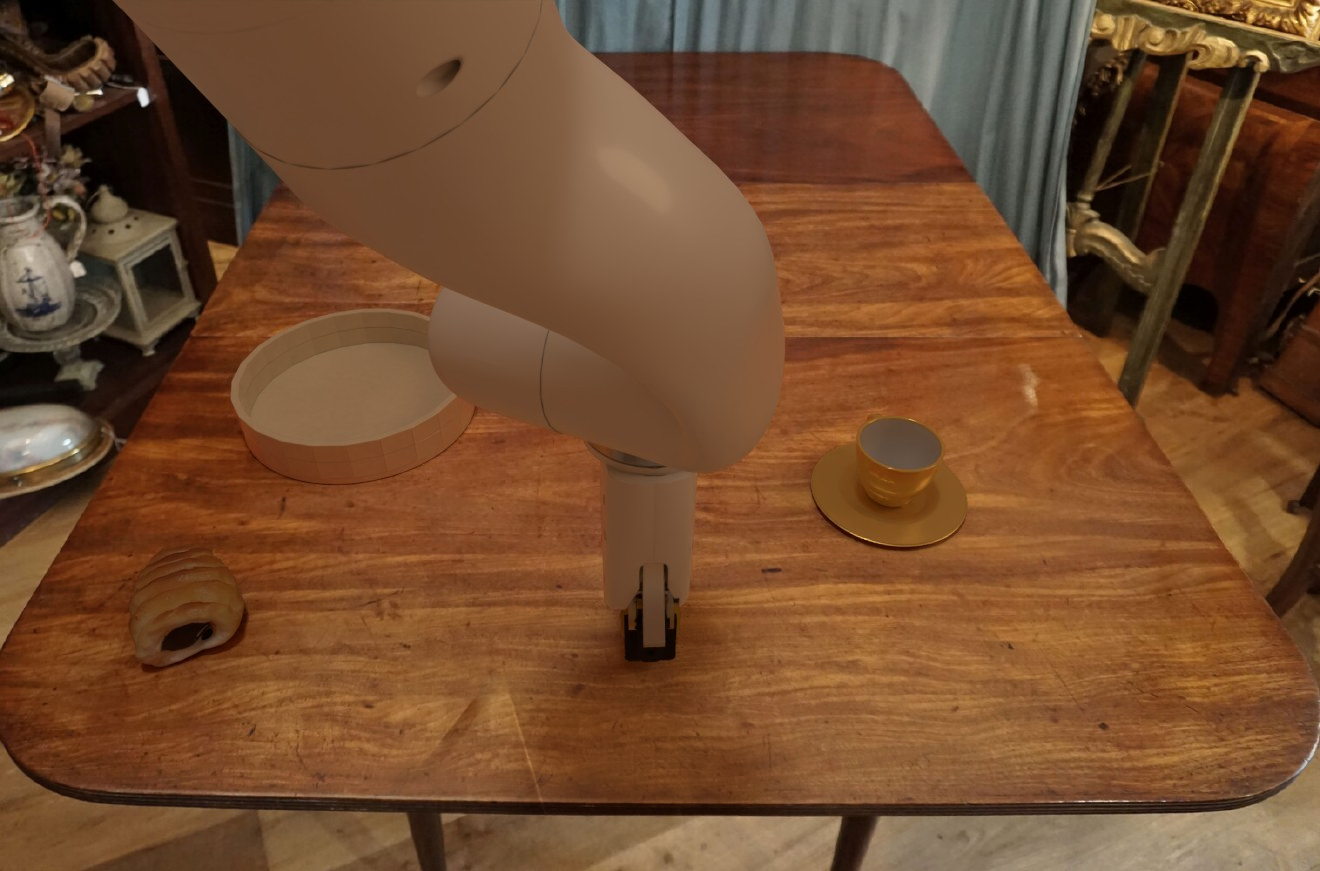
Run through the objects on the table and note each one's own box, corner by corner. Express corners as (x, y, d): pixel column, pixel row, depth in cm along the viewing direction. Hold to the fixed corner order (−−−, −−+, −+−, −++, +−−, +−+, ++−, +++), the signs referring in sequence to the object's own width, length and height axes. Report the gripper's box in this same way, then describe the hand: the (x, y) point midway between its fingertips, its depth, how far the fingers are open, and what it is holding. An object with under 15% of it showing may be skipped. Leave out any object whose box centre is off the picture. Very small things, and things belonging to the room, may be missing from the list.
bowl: (375, 515, 70) (366, 476, 68) (192, 437, 77) (177, 398, 74) (519, 381, 83) (515, 344, 81) (352, 324, 90) (344, 288, 87)
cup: (994, 538, 69) (1013, 484, 66) (842, 561, 67) (853, 507, 64) (926, 436, 78) (939, 384, 75) (790, 454, 76) (797, 401, 73)
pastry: (130, 578, 65) (111, 540, 63) (233, 547, 68) (218, 509, 65) (142, 679, 59) (122, 641, 56) (255, 640, 61) (239, 602, 59)
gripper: (582, 322, 56) (592, 536, 67) (577, 522, 43) (589, 743, 55) (708, 320, 56) (695, 534, 68) (739, 518, 43) (717, 739, 55)
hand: (648, 625), depth 61 cm, fingers closed on chess piece, 4 cm apart
